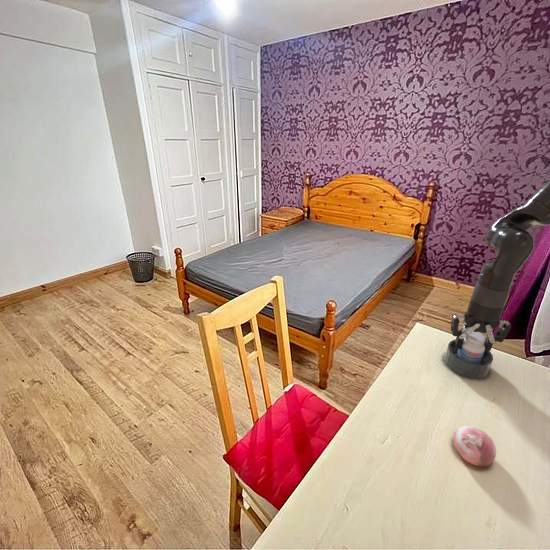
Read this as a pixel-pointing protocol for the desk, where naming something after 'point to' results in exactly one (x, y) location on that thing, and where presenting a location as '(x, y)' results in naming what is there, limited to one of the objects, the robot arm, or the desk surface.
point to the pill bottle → (472, 348)
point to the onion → (474, 445)
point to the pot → (467, 363)
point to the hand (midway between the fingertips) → (471, 348)
